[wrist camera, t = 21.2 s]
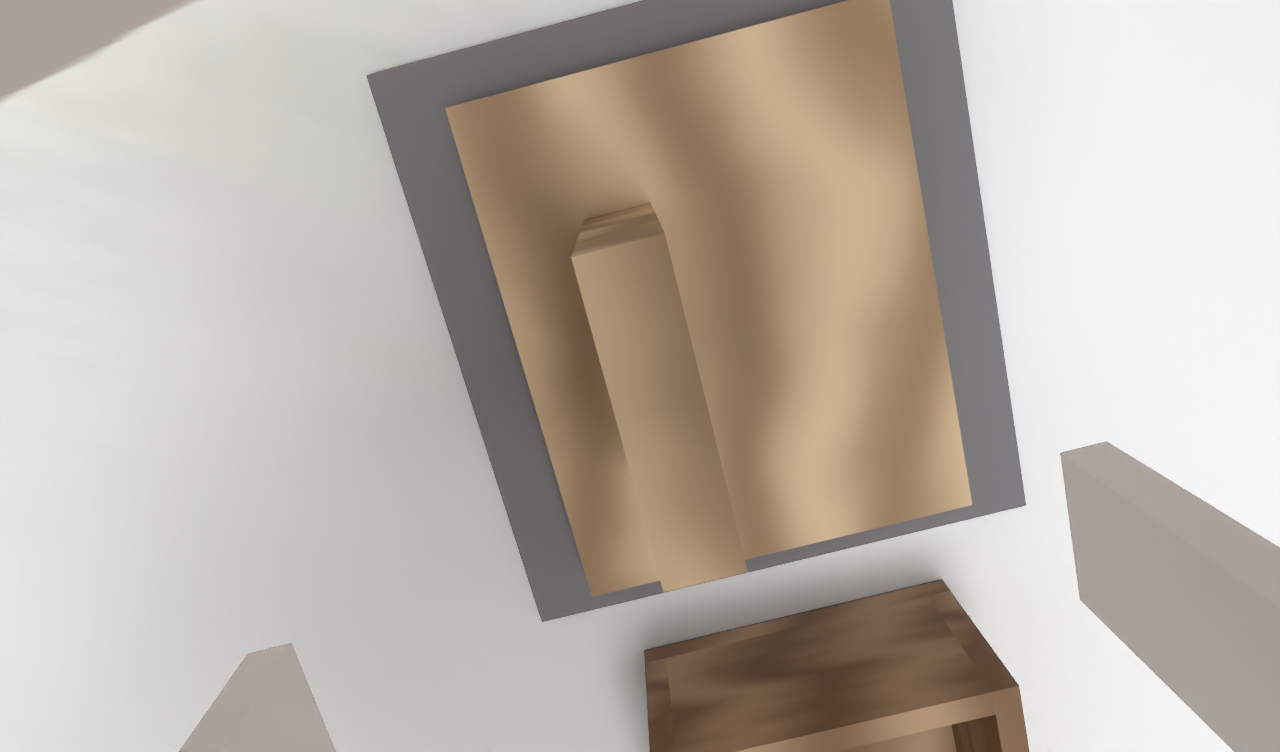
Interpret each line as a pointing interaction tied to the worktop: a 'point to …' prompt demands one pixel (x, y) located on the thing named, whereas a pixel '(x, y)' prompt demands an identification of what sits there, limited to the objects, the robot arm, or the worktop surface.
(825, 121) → the lid
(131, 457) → the worktop surface
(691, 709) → the open wooden box
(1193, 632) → the robot arm
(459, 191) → the mat
